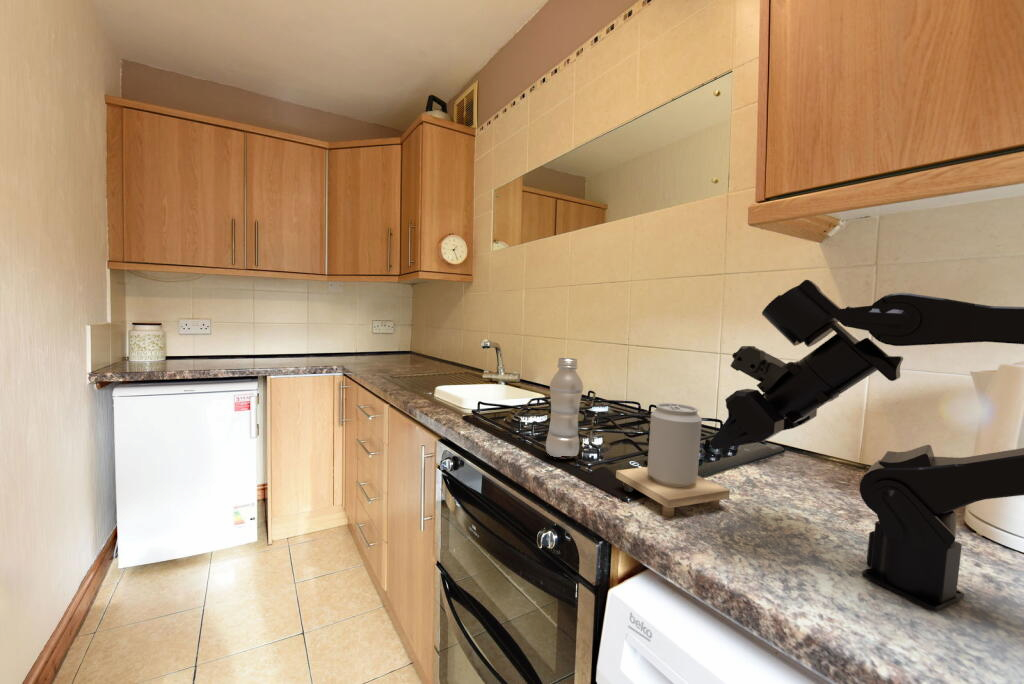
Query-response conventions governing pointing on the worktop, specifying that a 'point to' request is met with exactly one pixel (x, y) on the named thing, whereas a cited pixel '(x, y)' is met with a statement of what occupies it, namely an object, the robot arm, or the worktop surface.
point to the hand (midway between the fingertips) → (725, 441)
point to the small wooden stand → (673, 490)
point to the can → (674, 444)
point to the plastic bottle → (564, 410)
